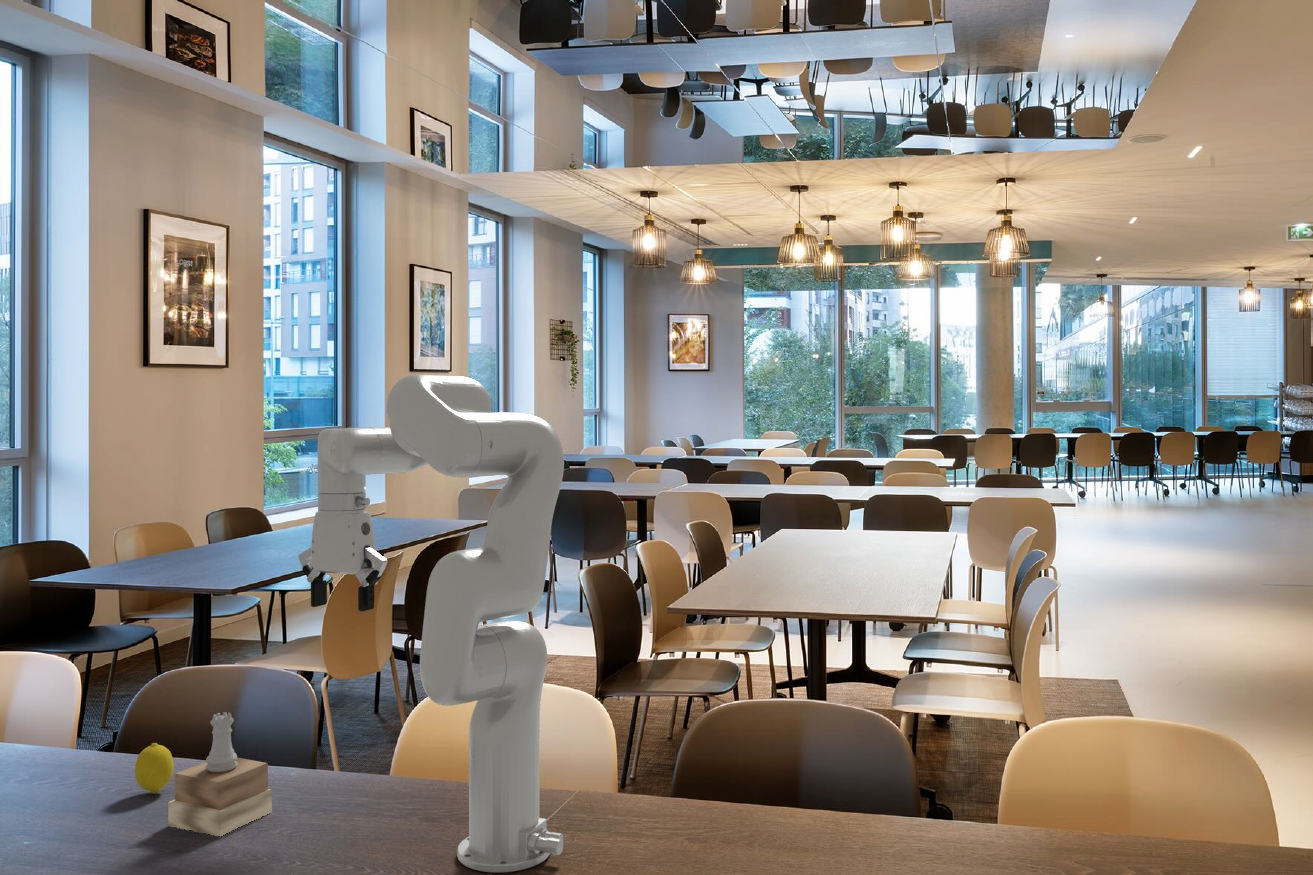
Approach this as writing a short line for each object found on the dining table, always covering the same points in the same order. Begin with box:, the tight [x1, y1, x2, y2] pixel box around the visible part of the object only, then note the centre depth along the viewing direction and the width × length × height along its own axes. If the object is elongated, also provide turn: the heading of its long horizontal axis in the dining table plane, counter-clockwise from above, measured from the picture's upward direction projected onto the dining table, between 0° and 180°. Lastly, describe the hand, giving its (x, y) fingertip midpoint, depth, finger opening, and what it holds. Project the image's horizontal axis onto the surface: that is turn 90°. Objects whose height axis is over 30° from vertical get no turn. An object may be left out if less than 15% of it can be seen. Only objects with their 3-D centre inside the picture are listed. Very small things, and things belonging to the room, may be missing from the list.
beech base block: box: [167, 788, 273, 838], centre depth 153 cm, size 10×10×4 cm
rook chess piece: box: [205, 711, 238, 773], centre depth 153 cm, size 4×4×8 cm
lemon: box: [134, 742, 175, 795], centre depth 164 cm, size 6×6×8 cm
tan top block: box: [174, 757, 269, 810], centre depth 154 cm, size 9×9×4 cm
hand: (342, 607), depth 170 cm, fingers open, 9 cm apart
